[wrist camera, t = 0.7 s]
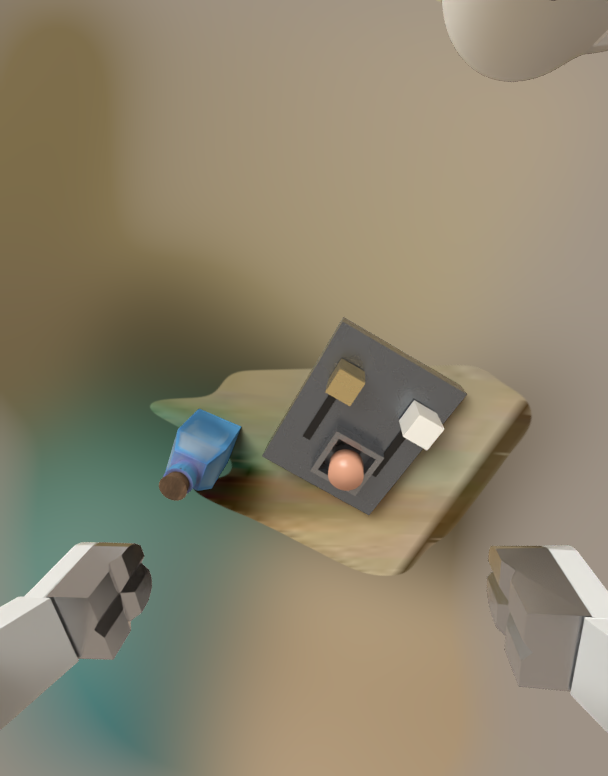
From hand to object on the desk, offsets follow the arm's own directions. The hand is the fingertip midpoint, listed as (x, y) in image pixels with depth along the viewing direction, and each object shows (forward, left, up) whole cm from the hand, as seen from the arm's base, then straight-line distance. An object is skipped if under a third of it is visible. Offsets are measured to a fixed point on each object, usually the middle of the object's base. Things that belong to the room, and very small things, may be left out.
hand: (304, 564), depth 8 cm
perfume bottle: (+23, -7, -36) cm, 44 cm away
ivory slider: (+5, +13, -33) cm, 36 cm away
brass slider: (+5, +3, -33) cm, 33 cm away
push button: (+14, +9, -31) cm, 36 cm away
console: (+10, +8, -36) cm, 38 cm away
